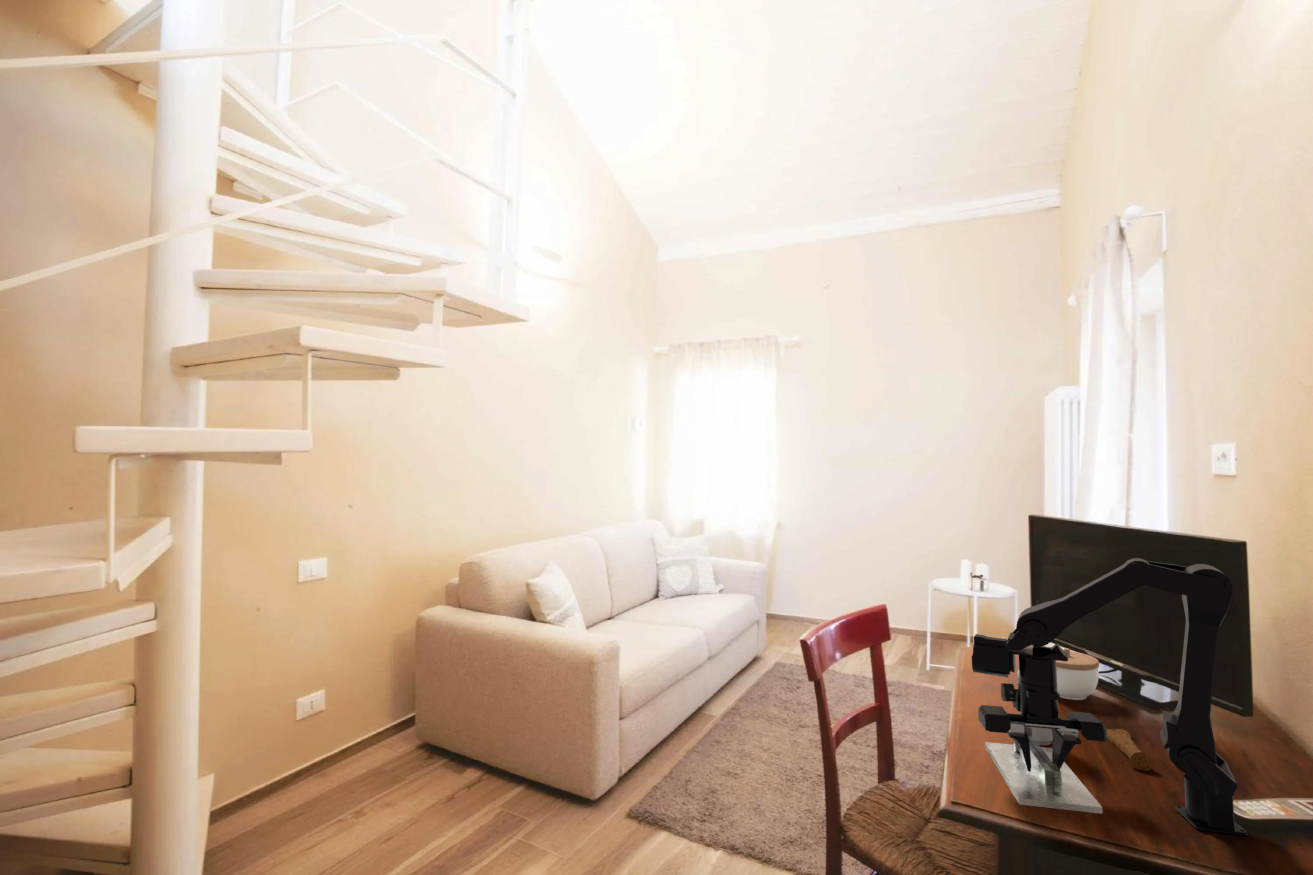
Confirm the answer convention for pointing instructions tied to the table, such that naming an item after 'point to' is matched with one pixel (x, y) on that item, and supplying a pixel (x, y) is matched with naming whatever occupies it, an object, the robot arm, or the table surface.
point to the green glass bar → (1056, 771)
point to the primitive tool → (1130, 749)
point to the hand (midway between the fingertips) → (1041, 771)
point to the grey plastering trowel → (1040, 779)
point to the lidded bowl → (1077, 675)
